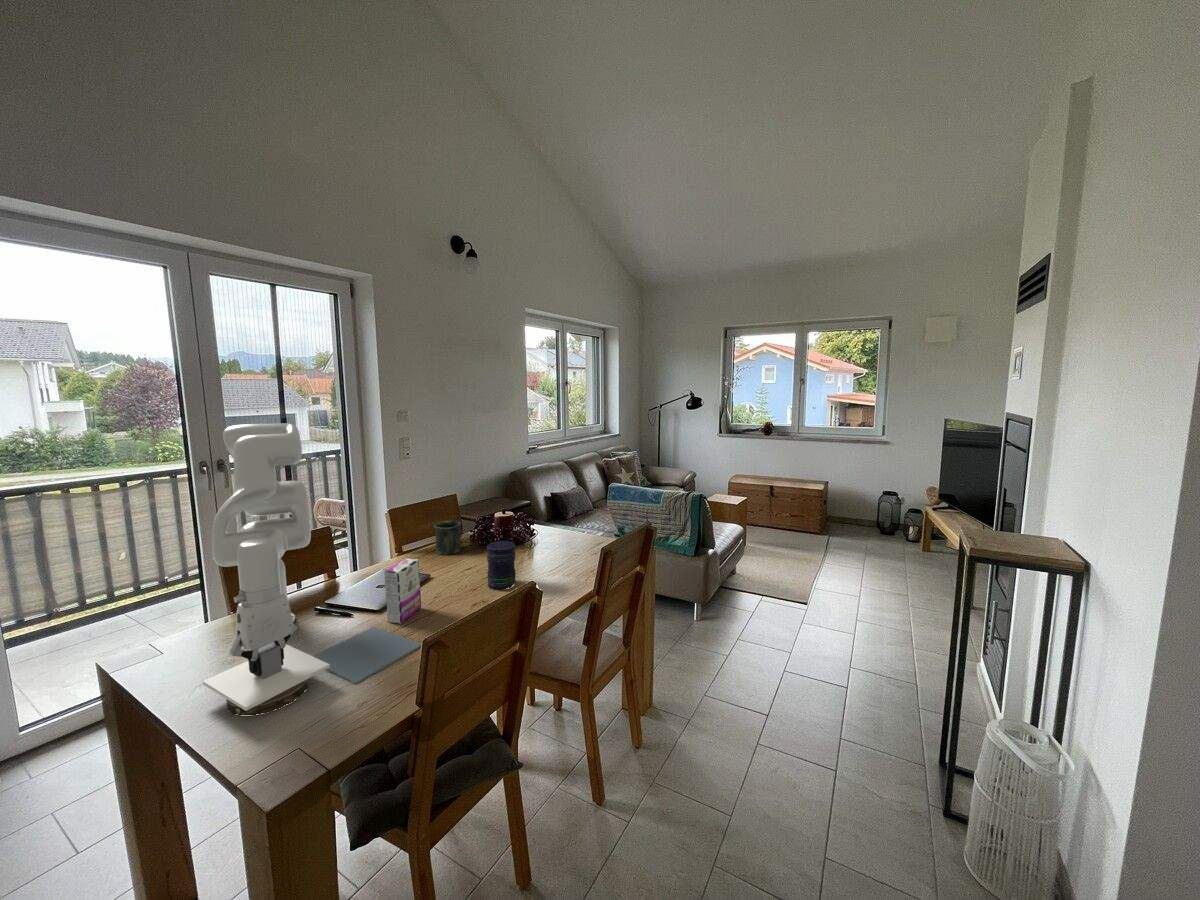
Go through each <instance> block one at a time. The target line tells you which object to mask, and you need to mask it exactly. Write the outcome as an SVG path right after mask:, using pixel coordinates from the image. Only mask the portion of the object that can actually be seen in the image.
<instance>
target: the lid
mask: <svg viewBox="0 0 1200 900" xmlns="http://www.w3.org/2000/svg"><path fill="white" fill-rule="evenodd" d="M283 649H284V659H283V665H282V663H281V651H280V646H278V645H276V644H274V643H273V642H272V643H270V644H267V645H265V646H263V647H260V648H259V651H258V658H259V659H260V661H261V672H262V674H261V676H256V675H254V674H252V673H250V671H249V661H248V660H247V661H244V662H243V663H240V664H238V665H235V666H233V667H230V668H229V669H227V670H224V671H222V672H220V673H218V674H216V675H213V676H210V677H209V678H207V679H205V680H202V685H203V686H205V687H206V688H208V689H210V690H211V691H212V692H215V693H216V694H218V695H219V696H221V697H222V698H225V700H226V699H227V700H229V701H231V702H232V703H234V704H236V705H237V706H239V707H240V708H242V709H244V710H245V711H247V710H249V709H251V708H253V707H255V706H257V705H259V704H260V703H262V702H264V701H266V700H268V699H270V698H272V697H274V696H276V695H278V694H280V693H282V692H284V691H285V690H287V689H289V688H291V687H293V686H295V685H297V684H299V683H301V682H303V681H305V680H307V679H309V680H310V678H312V677H315V676H316V675H318V674H319V673H322V672H324V671H326V669H328V668H330V664H328V663H326V662H323V661H321V660H319V659H317V658H315V657H313V656H314V655H310V654H309V653H306V652H304V651H302V650H299V649H297V648H295V647H293V646H291V645H289V644H287V643H286V646H285V648H283ZM227 700H226V701H227Z"/></svg>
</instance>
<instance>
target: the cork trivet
mask: <svg viewBox="0 0 1200 900" xmlns="http://www.w3.org/2000/svg"><path fill="white" fill-rule="evenodd" d="M308 685H309V686H310V678H309V679H307V680H305V681H303V682H301V683H299V684H297V685H295V686H293V687H291V688H289V689H287V690H285V691H284V692H282V693H280V694H278V695H276V696H274V697H272V698H270V699H268V700H266V701H264V702H262V703H260V704H259V705H257V706H255V707H253V708H251V709H249V710H247V711H245V710H244V709H242V708H240V707H239V706H237V705H236V704H234V703H232V702H231V701H229V700H227V699H226V698H225V700H226V708H227V711H228V710H229V711H230V712H231V713H232V714H231V713H230V712H229V711H228V712H229V713H230V714H231V715H233V714H238V715H256V714H261V713H267V712H270V711H273V710H275V709H279V708H281V707H283V706H284V705H286V704H289V703H291V702H293V701H294V700H295V699H297V698H298V697H300V696H301V695H302V694H303V693H304V691H305V690H306V689H307V688H308V689H309V687H308ZM304 694H305V693H304ZM304 694H303V695H304ZM303 695H302V696H303ZM302 696H301V697H302ZM301 697H300V698H301ZM297 700H298V699H297ZM294 702H295V701H294ZM294 702H293V703H294ZM291 704H292V703H291ZM289 705H290V704H289ZM283 708H284V707H283ZM281 709H282V708H281ZM279 710H280V709H279ZM273 712H274V711H273ZM270 713H271V712H270ZM267 714H268V713H267Z"/></svg>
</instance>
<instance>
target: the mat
mask: <svg viewBox="0 0 1200 900" xmlns="http://www.w3.org/2000/svg"><path fill="white" fill-rule="evenodd" d="M421 644H422V643H419V642H416V641H415V640H411V639H408V638H406V637H404V636H401V635H398V634H395V633H392V632H390V631H387V630H384V629H382V628H379V627H377V626H371V627H370V628H368V629H366V630H364V631H362V632H359V633H357V634H355V635H353V636H351V637H349V638H347V639H345V640H342V641H340V642H338V643H337V644H335V645H333V646H330V647H329V648H326V649H324V650H321V651H320V652H318V653H317V654H314V655H312V656H313V657H315V658H317V659H319V660H321V661H323V662H326V663H328V664H330V668H328V669H326V670H327V671H326V670H325V671H326V672H328V671H329V672H328V673H330V672H331V673H330V674H333V675H335V674H336V675H335V676H337V675H339V676H340V677H339V676H338V677H339V678H341V677H342V679H343V678H344V679H343V680H345V679H346V680H345V681H347V680H349V681H348V682H350V681H351V682H350V683H352V682H353V683H352V684H354V683H355V684H354V685H357V684H359V683H360V681H361V682H362V681H365V680H366V679H368V678H369V677H371V676H372V675H375V674H377V673H378V672H380V671H382V670H383V669H385V668H387V667H389V666H390V665H393V664H395V662H397V661H399V660H401V659H402V658H404V657H405V655H406V656H407V654H408V655H409V654H411V653H412V651H413V652H414V651H416V650H418V649H420V648H421V647H422V646H421ZM415 649H416V650H415ZM410 652H411V653H410ZM400 658H401V659H400ZM386 666H387V667H386ZM374 673H375V674H374ZM367 677H368V678H367ZM365 678H366V679H365ZM356 683H357V684H356Z"/></svg>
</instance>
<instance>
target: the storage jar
mask: <svg viewBox="0 0 1200 900" xmlns="http://www.w3.org/2000/svg"><path fill="white" fill-rule="evenodd" d="M486 556H487V558H486V560H487V563H488V564H487V565H488V566H487V568H488V570H487V572H486V573H487V583H488V584H487V588H488V587H489V588H490V589H489V588H488V589H489V590H491V589H493V590H492V591H495V590H503V589H506V588H508V587H509V588H510V587H511V586H512V585H513V584H514V583H515V584H516V569H515V560H516V544H515V542H513V541H510V540H495V541H492V542H489V543H488V544H487V550H486Z"/></svg>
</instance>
